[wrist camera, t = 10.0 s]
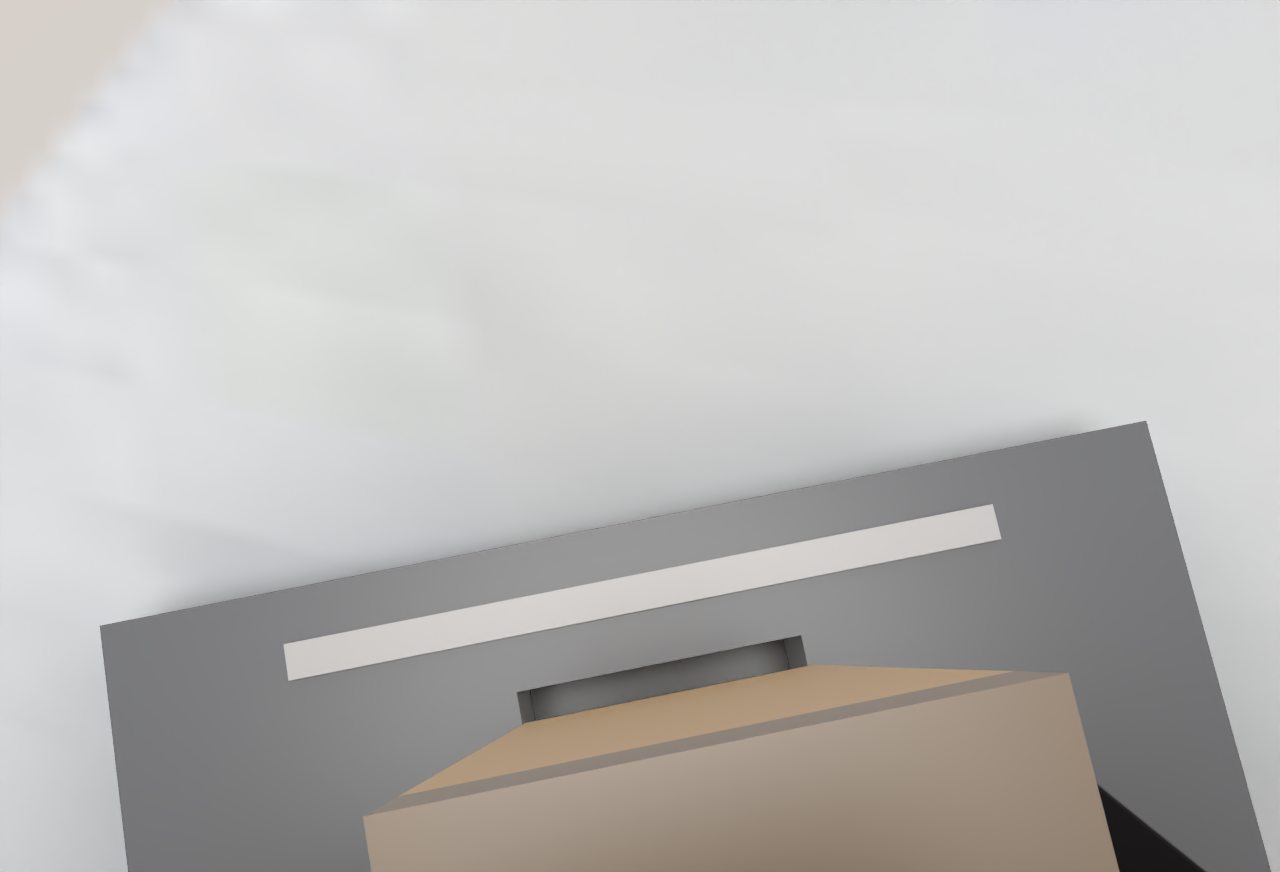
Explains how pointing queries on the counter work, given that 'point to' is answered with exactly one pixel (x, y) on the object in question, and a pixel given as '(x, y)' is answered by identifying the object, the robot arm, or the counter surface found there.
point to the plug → (774, 782)
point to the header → (682, 648)
